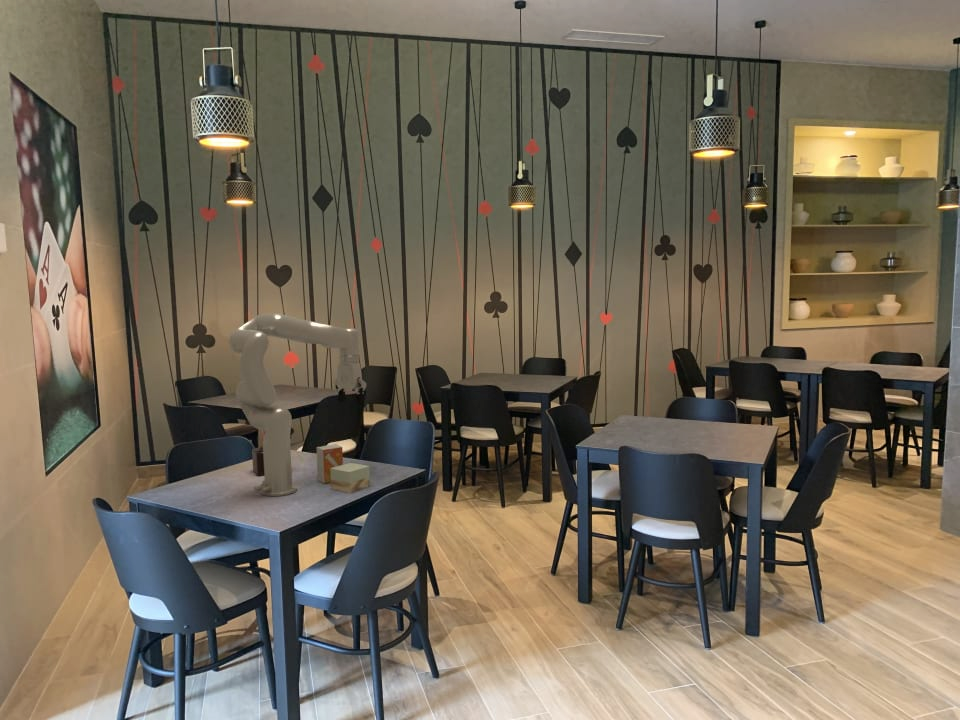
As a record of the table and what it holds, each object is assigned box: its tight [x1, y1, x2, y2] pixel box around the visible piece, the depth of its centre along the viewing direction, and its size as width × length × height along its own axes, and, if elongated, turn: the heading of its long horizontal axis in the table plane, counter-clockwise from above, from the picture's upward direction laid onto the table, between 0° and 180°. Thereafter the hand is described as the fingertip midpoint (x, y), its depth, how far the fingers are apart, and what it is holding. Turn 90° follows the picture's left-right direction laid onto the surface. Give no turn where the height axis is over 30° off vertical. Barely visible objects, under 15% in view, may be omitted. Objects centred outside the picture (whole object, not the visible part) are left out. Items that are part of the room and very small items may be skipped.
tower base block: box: [329, 477, 371, 494], centre depth 270 cm, size 10×10×4 cm
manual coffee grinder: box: [251, 427, 295, 477], centre depth 296 cm, size 16×11×18 cm
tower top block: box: [330, 462, 371, 483], centre depth 270 cm, size 10×10×4 cm
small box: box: [316, 443, 344, 484], centre depth 280 cm, size 8×6×13 cm
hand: (350, 403), depth 290 cm, fingers open, 9 cm apart
